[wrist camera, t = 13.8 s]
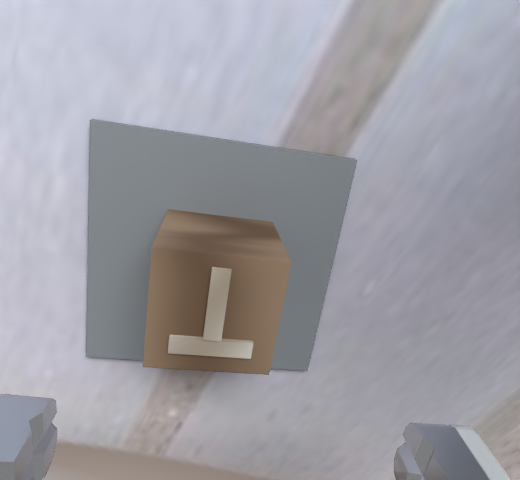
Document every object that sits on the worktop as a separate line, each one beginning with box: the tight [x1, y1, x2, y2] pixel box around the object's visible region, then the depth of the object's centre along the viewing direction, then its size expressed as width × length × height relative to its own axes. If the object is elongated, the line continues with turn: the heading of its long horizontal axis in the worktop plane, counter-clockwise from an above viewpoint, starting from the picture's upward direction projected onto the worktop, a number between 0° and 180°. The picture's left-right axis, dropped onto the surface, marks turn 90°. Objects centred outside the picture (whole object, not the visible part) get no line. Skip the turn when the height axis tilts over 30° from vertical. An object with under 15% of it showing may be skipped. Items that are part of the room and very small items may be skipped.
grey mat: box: [86, 119, 357, 371], centre depth 20 cm, size 12×12×1 cm
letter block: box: [143, 209, 291, 375], centre depth 17 cm, size 5×5×5 cm
